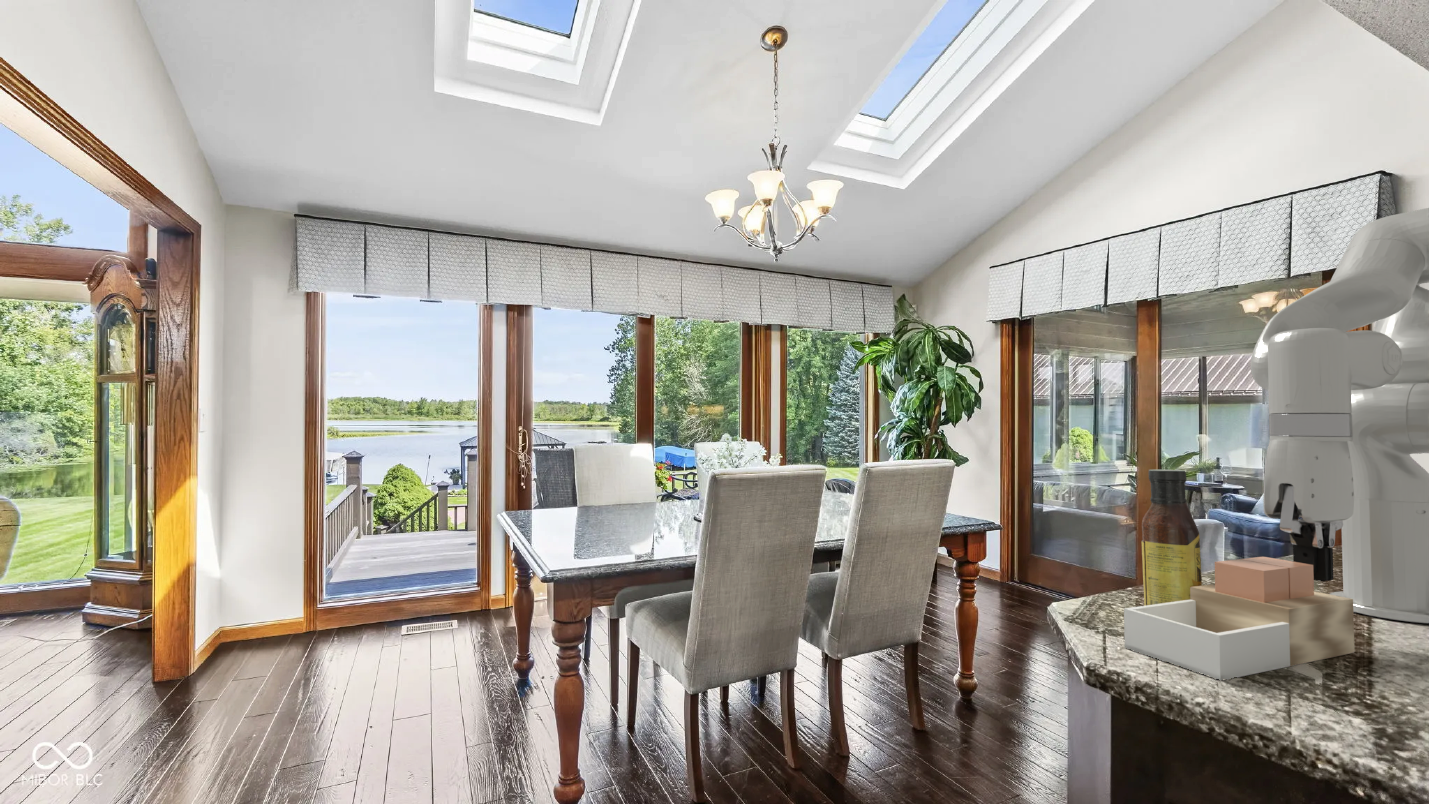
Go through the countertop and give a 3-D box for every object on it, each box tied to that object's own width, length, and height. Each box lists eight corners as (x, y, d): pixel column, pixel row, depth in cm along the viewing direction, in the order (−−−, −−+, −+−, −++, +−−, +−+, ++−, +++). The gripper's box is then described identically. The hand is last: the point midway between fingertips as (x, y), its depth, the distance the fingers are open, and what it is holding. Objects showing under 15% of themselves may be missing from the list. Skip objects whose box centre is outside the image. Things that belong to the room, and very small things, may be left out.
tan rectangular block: (1253, 626, 82) (1252, 579, 82) (1354, 652, 72) (1353, 599, 73) (1191, 636, 77) (1190, 587, 78) (1290, 666, 68) (1288, 609, 68)
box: (1191, 636, 77) (1190, 599, 77) (1290, 666, 68) (1289, 623, 68) (1124, 648, 73) (1123, 608, 73) (1220, 680, 64) (1219, 635, 64)
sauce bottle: (1214, 632, 79) (1210, 472, 80) (1157, 629, 80) (1154, 471, 81) (1186, 617, 85) (1183, 468, 86) (1134, 614, 87) (1131, 467, 87)
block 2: (1264, 585, 79) (1263, 556, 79) (1314, 595, 74) (1313, 564, 74) (1240, 588, 77) (1240, 559, 77) (1290, 598, 72) (1289, 567, 73)
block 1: (1239, 588, 77) (1238, 559, 77) (1289, 599, 72) (1288, 567, 72) (1215, 591, 75) (1214, 561, 76) (1264, 602, 71) (1263, 570, 71)
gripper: (1308, 429, 85) (1311, 568, 84) (1236, 428, 80) (1240, 576, 79) (1383, 429, 78) (1388, 581, 77) (1310, 428, 73) (1315, 591, 72)
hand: (1313, 578), depth 78 cm, fingers closed
